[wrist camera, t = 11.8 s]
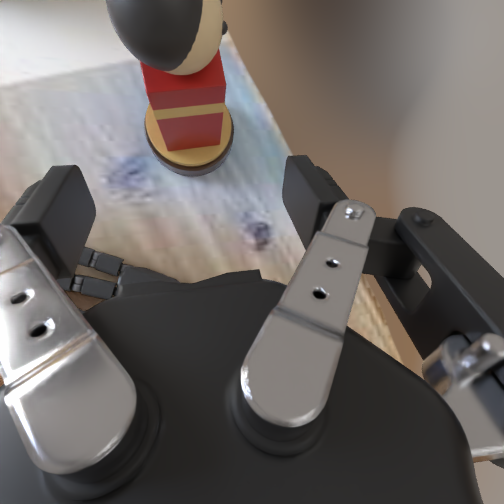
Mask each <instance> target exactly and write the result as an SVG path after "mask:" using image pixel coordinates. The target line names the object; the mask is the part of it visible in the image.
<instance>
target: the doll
mask: <svg viewBox="0 0 504 504" xmlns="http://www.w3.org/2000/svg"><path fill="white" fill-rule="evenodd" d="M106 4H107V9H108V13H109V16H110V19H111V22H112V25H113V27H114V29H115V31H116V33H117V35H118V36H119V38H120V40H121V41H122V43H123V44H124V45H125V47H126V48H127V49H128V50H129V51H130V52H131V53H132V54H133V55H134V56H135V57H136V58H137V59H138V60H140V64H141V69H142V74H143V79H144V84H145V89H146V94H147V96H148V99H149V102H150V103H149V106H148V108H147V112H146V129H147V133H148V135H149V138H150V140H151V142H152V144H153V145H154V147H155V148H156V149H157V151H158V152H159V153H160V154H161V155H162V156H164V157H165V158H166V159H168V160H170V161H172V162H174V163H176V164H179V165H183V166H200V165H204V164H207V163H209V162H211V161H213V160H215V159H216V158H217V157H218V156H220V155H221V153H222V152H223V151H224V150H225V148H226V146H227V144H228V142H229V139H230V135H231V118H230V114H229V111H228V109H227V107H226V105H225V92H226V81H225V76H224V71H223V66H222V61H221V56H220V51H219V45H220V42H221V39H222V35H224V34H226V32H227V29H228V27H227V24H226V22H225V21H223V12H222V6H221V5H222V0H106Z"/></svg>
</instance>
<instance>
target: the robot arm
mask: <svg viewBox="0 0 504 504" xmlns="http://www.w3.org/2000/svg"><path fill="white" fill-rule="evenodd" d="M282 198H283V203H284V205H285V207H286V210H287V212H288V214H289V216H290V218H291V220H292V222H293V224H294V226H295V229H296V231H297V233H298V235H299V237H300V239H301V241H302V243H303V245H304V248H305V250H306V252H305V254H304V256H303V258H302V260H301V261H300V263H299V265H298V267H297V269H296V271H295V273H294V275H293V276H292V278H291V280H290V282H289V284H288V286H287V285H284V284H282V283H279V282H276V281H272V280H267V279H262V278H261V274H260V270H259V269H257V270H248V271H239V272H230V273H225V274H222V275H219V276H215V277H212V278H209V279H206V280H203V281H200V282H197V283H191V284H189V283H177V282H165V281H149V282H139V283H130V284H121V285H119V290H118V295H117V296H115V297H112V298H110V299H108V300H105V301H103V302H101V303H99V304H97V305H95V306H94V307H92V308H90V309H89V310H87V311H86V312H84V313H83V314H81V312H80V311H79V310H78V309H77V307H76V306H75V305H74V303H73V302H72V301H71V299H70V298H69V297H68V295H67V294H66V293H65V292H64V290H63V289H62V288H61V286H60V285H59V284H58V282H57V281H56V280H57V279H64V278H73V276H74V273H75V270H76V268H77V265H78V262H79V260H80V257H81V254H82V252H83V249H84V246H85V243H86V241H87V238H88V235H89V233H90V230H91V227H92V225H93V222H94V219H95V216H96V208H95V204H94V201H93V198H92V196H91V194H90V191H89V189H88V186H87V184H86V182H85V179H84V177H83V174H82V172H81V170H80V168H79V167H78V166H77V165H63V166H52V167H51V168H50V170H49V171H48V172H47V174H46V175H45V177H44V178H43V179H42V180H39V181H38V182H36V183H35V184H33V185H31V186H30V187H28V188H27V189H26V191H25V192H24V193H23V195H22V196H21V198H19V200H18V201H17V202H16V205H15V206H13V208H12V209H11V210H10V212H9V213H8V214H7V215H6V217H5V218H4V219H3V221H2V222H1V223H0V373H1V376H2V378H3V380H4V382H5V383H4V384H3V385H2V386H1V387H0V504H483V501H482V499H481V495H480V491H479V487H478V483H477V479H476V475H475V469H474V464H473V463H476V462H482V461H488V460H489V461H491V462H492V463H493V464H495V465H497V466H499V467H501V468H504V278H503V277H502V276H501V275H500V274H499V273H498V272H497V271H496V270H495V269H494V268H493V267H492V266H491V265H489V263H488V262H486V261H485V260H484V259H483V258H482V257H481V256H480V255H479V254H478V253H477V252H476V251H475V250H474V249H473V248H472V247H471V246H470V245H469V244H468V243H467V242H466V241H465V240H464V239H463V238H462V237H461V236H460V235H459V234H457V232H455V231H454V230H453V229H452V228H451V227H450V226H449V225H448V224H447V223H446V222H445V221H444V220H443V219H442V218H441V217H440V216H438V215H437V214H435V213H433V212H431V211H429V210H426V209H422V208H416V207H410V208H405V209H403V210H402V211H401V213H400V215H399V217H398V219H390V218H382V217H376V213H375V211H374V210H373V208H372V207H370V206H369V205H367V204H365V203H363V202H360V201H357V200H349V198H348V197H347V196H346V195H345V193H344V192H343V191H342V190H341V188H340V187H339V186H338V185H337V184H336V182H335V181H334V180H333V178H332V177H331V176H330V175H329V173H328V172H327V171H325V170H323V169H322V168H320V167H318V166H314V164H313V163H312V162H311V160H310V159H309V158H308V157H307V155H297V156H288V157H287V160H286V166H285V173H284V181H283V189H282ZM421 265H423V266H424V268H425V269H426V270H427V271H428V273H429V274H430V277H431V280H432V285H431V288H429V287H428V286H427V284H426V283H425V282H424V280H423V279H422V277H420V275H419V273H418V272H417V271H418V269H419V267H420V266H421ZM362 273H363V274H370V275H374V277H375V279H376V280H377V282H378V284H379V286H380V287H381V289H382V291H383V292H384V294H385V295H386V298H387V299H388V301H389V302H390V304H391V306H392V308H393V309H394V311H395V313H396V314H397V316H398V318H399V319H400V321H401V323H402V325H403V327H404V328H405V330H406V332H407V333H408V335H409V337H410V338H411V340H412V342H413V344H414V345H415V347H416V349H417V350H418V352H419V354H420V355H421V357H422V359H423V364H422V374H423V377H424V380H423V379H422V378H421V377H420V376H418V375H417V374H415V373H414V372H412V371H411V370H409V369H408V368H407V367H405V366H404V365H402V364H401V363H400V362H398V361H397V360H395V359H394V358H392V357H391V356H390V355H388V354H387V353H385V352H384V351H382V350H381V349H380V348H378V347H377V346H375V345H374V344H372V343H371V342H370V341H368V340H367V339H365V338H364V337H362V336H361V335H360V334H358V333H357V332H355V331H354V330H352V329H351V328H350V327H348V326H347V322H348V319H349V315H350V312H351V308H352V305H353V301H354V298H355V294H356V291H357V287H358V284H359V281H360V277H361V274H362Z"/></svg>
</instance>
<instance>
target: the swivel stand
mask: <svg viewBox="0 0 504 504" xmlns="http://www.w3.org/2000/svg"><path fill="white" fill-rule="evenodd" d="M228 111H229V110H228ZM229 114H230V112H229ZM230 118H231V135H230V139H229V142H228V144H227V146H226V148H225V150H224V151H223V152H222V153H221V155H220V156H218V157H217V158H216V159H215V160H213V161H211V162H209V163H207V164H204V165H200V166H183V165H179V164H176V163H174V162H172V161H170V160H168V159H166V158H165V157H164V156H162V155H161V154H160V153H159V152H158V151H157V149H156V148H155V147H154V145H153V144H152V142H151V140H150V138H149V135H148V133H147V129H146V115H145V121H144V129H145V135H146V138H147V141H148V143H149V146H150V148H151V150H152V151H153V153H154V155H155V156H156V158H157V159H158V160H159V161H160V162H161V163H162V164H163V165H164V166H165V167H166V168H168V169H169V170H171V171H173V172H175V173H178V174H181V175H186V176H200V175H204V174H207V173H210V172H212V171H214V170H215V169H217V168H218V167H219V166H220V165H221V164H222V163H223V162H224V161H225V160H226V158H227V157H228V155H229V152H230V150H231V146H232V141H233V135H234V126H233V121H232V117H231V115H230Z"/></svg>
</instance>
